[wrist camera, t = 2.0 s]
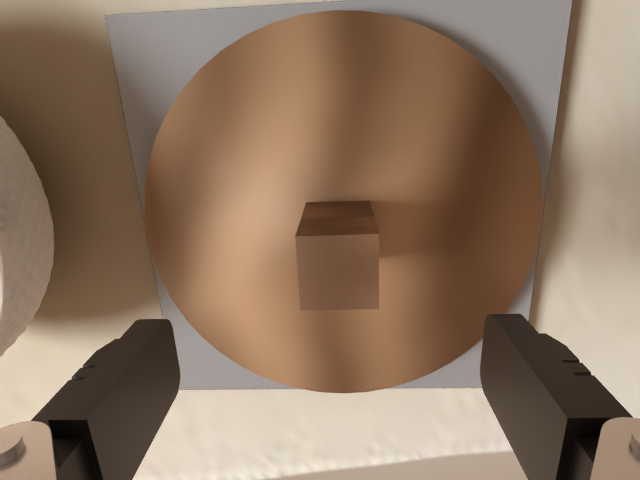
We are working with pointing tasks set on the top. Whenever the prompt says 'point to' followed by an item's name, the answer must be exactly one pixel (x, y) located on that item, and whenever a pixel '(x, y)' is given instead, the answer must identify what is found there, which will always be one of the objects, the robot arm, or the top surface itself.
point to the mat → (407, 3)
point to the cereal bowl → (21, 239)
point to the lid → (343, 201)
